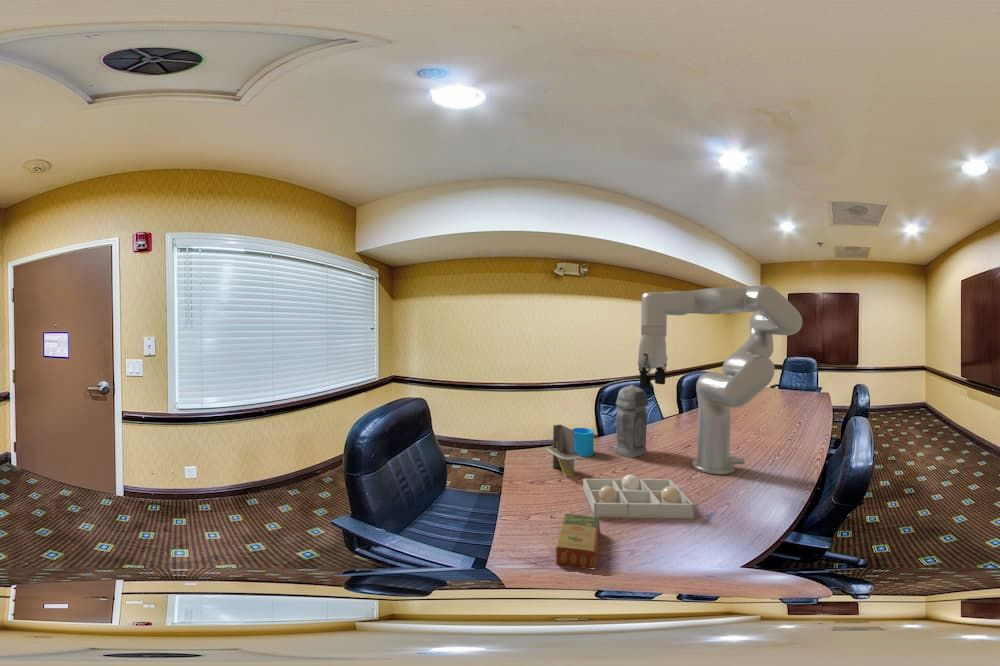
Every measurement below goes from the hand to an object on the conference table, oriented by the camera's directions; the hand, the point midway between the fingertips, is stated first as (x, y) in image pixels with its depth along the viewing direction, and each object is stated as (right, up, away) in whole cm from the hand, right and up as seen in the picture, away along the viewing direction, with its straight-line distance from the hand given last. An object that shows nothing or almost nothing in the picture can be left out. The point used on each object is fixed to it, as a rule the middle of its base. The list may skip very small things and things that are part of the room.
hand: (652, 385), depth 143 cm
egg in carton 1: (-20, -29, -25) cm, 43 cm away
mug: (-20, -27, +21) cm, 40 cm away
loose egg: (-12, -29, -17) cm, 35 cm away
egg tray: (-12, -29, -21) cm, 38 cm away
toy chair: (-28, -29, +2) cm, 40 cm away
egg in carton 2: (-4, -29, -25) cm, 38 cm away
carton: (-31, -31, -43) cm, 61 cm away
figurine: (-1, -27, +23) cm, 35 cm away
